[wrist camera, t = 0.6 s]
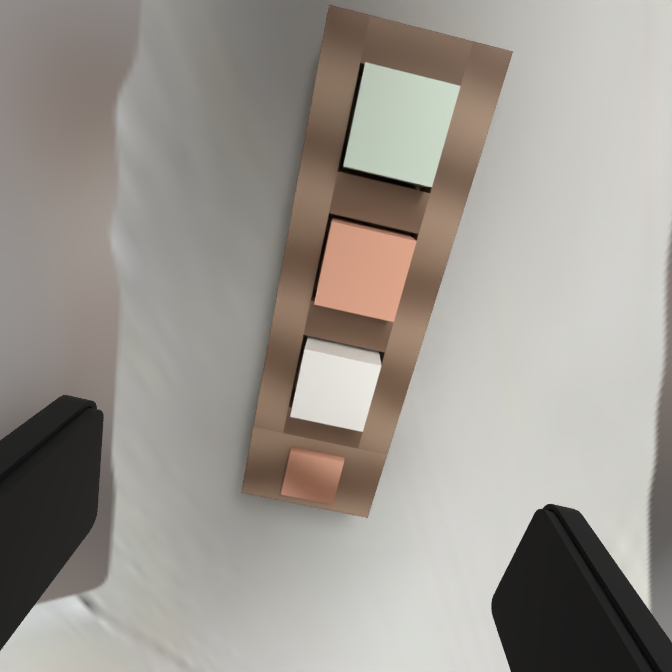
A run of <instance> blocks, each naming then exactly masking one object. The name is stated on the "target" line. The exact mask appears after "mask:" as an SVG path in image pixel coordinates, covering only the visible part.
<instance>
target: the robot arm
mask: <svg viewBox="0 0 672 672" xmlns="http://www.w3.org/2000/svg"><path fill="white" fill-rule="evenodd" d="M102 431H103V412H102V411H101V410H97V406H96V403H95V402H93V401H90V400H86V399H81V398H77V397H73V396H68V395H63V396H61V397H59V398H58V399H56V400H55V401H53V402H52V403H51V404H49V405H48V406H47V407H46V408H44V409H43V410H41V411H40V412H39V413H37V414H36V415H34V416H33V417H32V418H30V419H29V420H28V421H26V422H25V423H24V424H22V425H21V426H19V427H18V428H17V429H15V430H14V431H13V432H11V433H10V434H9V435H7V436H6V437H5V438H3V439H2V440H1V441H0V650H1V649H2V648H3V646H4V645H5V644H6V642H7V641H8V640H9V638H10V637H11V636H12V634H13V633H14V632H15V630H16V629H17V628H18V626H19V625H20V624H21V622H22V621H23V620H24V618H25V617H26V616H27V614H28V613H29V612H30V610H31V609H32V608H33V606H34V605H35V604H36V602H37V601H38V600H39V598H40V597H41V595H42V594H43V593H44V592H45V590H46V589H47V588H48V586H49V585H50V583H51V582H52V581H53V579H54V578H55V577H56V575H57V574H58V573H59V572H60V570H61V569H62V568H63V566H64V565H65V564H66V562H67V561H68V560H69V558H70V557H71V556H72V554H73V553H74V551H75V550H76V549H77V547H78V546H79V545H80V543H81V542H82V541H83V539H84V538H85V537H86V535H87V534H88V533H89V531H90V530H91V528H92V526H93V524H94V522H95V519H96V516H97V508H98V493H99V478H100V462H101V447H102ZM491 608H492V615H493V619H494V622H495V625H496V628H497V631H498V634H499V637H500V640H501V643H502V646H503V649H504V652H505V655H506V658H507V661H508V664H509V667H510V670H511V672H672V643H671V641H670V639H669V638H668V637H667V635H666V634H665V632H664V631H663V630H662V628H661V627H660V625H659V624H658V622H657V621H656V619H655V618H654V617H653V615H652V614H651V612H650V611H649V609H648V608H647V607H646V605H645V604H644V602H643V601H642V600H641V598H640V597H639V595H638V594H637V592H636V591H635V590H634V588H633V587H632V585H631V584H630V582H629V581H628V580H627V578H626V577H625V575H624V574H623V572H622V571H621V570H620V568H619V567H618V565H617V564H616V562H615V561H614V560H613V558H612V557H611V555H610V554H609V552H608V551H607V550H606V548H605V547H604V545H603V544H602V542H601V541H600V540H599V538H598V537H597V535H596V534H595V533H594V531H593V530H592V528H591V527H590V525H589V524H588V523H587V521H586V520H585V518H584V517H583V515H582V514H581V513H580V512H579V511H577V510H575V509H571V508H567V507H563V506H558V505H554V504H547V505H546V506H544V508H543V509H538V510H537V511H536V512H535V514H534V516H533V518H532V520H531V522H530V524H529V526H528V528H527V530H526V532H525V534H524V536H523V537H522V539H521V541H520V543H519V545H518V547H517V549H516V551H515V553H514V555H513V557H512V559H511V561H510V563H509V565H508V567H507V569H506V571H505V573H504V575H503V577H502V579H501V581H500V583H499V585H498V587H497V589H496V591H495V593H494V595H493V598H492V606H491Z"/></svg>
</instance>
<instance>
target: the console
mask: <svg viewBox="0 0 672 672" xmlns="http://www.w3.org/2000/svg"><path fill="white" fill-rule="evenodd" d="M512 53H513V51H509V50H505V49H501V48H497V47H493V46H489V45H485V44H481V43H477V42H473V41H469V40H465V39H462V38H458V37H454V36H450V35H446V34H442V33H438V32H434V31H430V30H426V29H422V28H418V27H414V26H411V25H407V24H403V23H399V22H395V21H391V20H387V19H383V18H379V17H375V16H371V15H367V14H364V13H360V12H356V11H352V10H348V9H344V8H340V7H336V6H332V5H329V7H328V13H327V19H326V24H325V30H324V35H323V41H322V46H321V52H320V58H319V63H318V69H317V74H316V80H315V85H314V91H313V97H312V102H311V108H310V113H309V119H308V124H307V130H306V136H305V141H304V147H303V152H302V158H301V163H300V169H299V175H298V180H297V186H296V191H295V197H294V202H293V208H292V214H291V219H290V225H289V230H288V236H287V242H286V247H285V253H284V258H283V264H282V269H281V275H280V281H279V286H278V292H277V297H276V303H275V308H274V314H273V320H272V325H271V331H270V336H269V342H268V347H267V353H266V359H265V364H264V370H263V375H262V381H261V386H260V392H259V398H258V403H257V409H256V414H255V420H254V425H253V431H252V437H251V442H250V448H249V453H248V459H247V464H246V470H245V476H244V481H243V487H242V492H241V493H246V494H251V495H256V496H261V497H266V498H271V499H276V500H281V501H286V502H291V503H296V504H301V505H306V506H311V507H316V508H321V509H326V510H331V511H336V512H341V513H346V514H351V515H356V516H361V517H366V518H368V515H369V511H370V508H371V505H372V502H373V499H374V495H375V492H376V489H377V486H378V482H379V479H380V476H381V473H382V470H383V466H384V463H385V460H386V457H387V454H388V450H389V447H390V444H391V441H392V438H393V434H394V431H395V428H396V425H397V422H398V418H399V415H400V412H401V409H402V406H403V402H404V399H405V396H406V393H407V390H408V386H409V383H410V380H411V377H412V374H413V370H414V367H415V364H416V361H417V358H418V354H419V351H420V348H421V345H422V342H423V338H424V335H425V332H426V329H427V326H428V322H429V319H430V316H431V313H432V310H433V306H434V303H435V300H436V297H437V293H438V290H439V287H440V284H441V281H442V277H443V274H444V271H445V268H446V265H447V261H448V258H449V255H450V252H451V249H452V245H453V242H454V239H455V236H456V233H457V229H458V226H459V223H460V220H461V217H462V213H463V210H464V207H465V204H466V201H467V197H468V194H469V191H470V188H471V185H472V181H473V178H474V175H475V172H476V169H477V165H478V162H479V159H480V156H481V153H482V149H483V146H484V143H485V140H486V137H487V133H488V130H489V127H490V124H491V121H492V117H493V114H494V111H495V108H496V105H497V101H498V98H499V95H500V92H501V88H502V85H503V82H504V79H505V76H506V72H507V69H508V66H509V63H510V60H511V56H512ZM365 62H367V63H371V64H375V65H379V66H383V67H387V68H391V69H395V70H399V71H403V72H407V73H411V74H415V75H419V76H423V77H427V78H431V79H435V80H439V81H443V82H447V83H451V84H455V85H459V86H460V90H459V93H458V97H457V101H456V104H455V108H454V111H453V115H452V118H451V122H450V125H449V129H448V132H447V136H446V139H445V143H444V147H443V150H442V154H441V157H440V161H439V164H438V168H437V171H436V175H435V178H434V182H433V185H432V187H422V186H418V185H414V184H410V183H405V182H401V181H397V180H393V179H389V178H384V177H380V176H376V175H372V174H368V173H363V172H359V171H355V170H351V169H347V168H344V167H343V165H344V160H345V156H346V151H347V146H348V142H349V137H350V132H351V127H352V123H353V118H354V113H355V109H356V104H357V99H358V94H359V90H360V85H361V80H362V76H363V71H364V66H365ZM333 217H335V218H339V219H344V220H348V221H352V222H357V223H361V224H365V225H369V226H374V227H378V228H382V229H387V230H391V231H395V232H400V233H404V234H408V235H410V236H411V237H412V238H414V239H415V240H416V241H417V242H416V246H415V249H414V253H413V256H412V260H411V263H410V267H409V270H408V274H407V277H406V281H405V284H404V288H403V292H402V295H401V299H400V302H399V306H398V309H397V313H396V316H395V320H394V322H391V321H386V320H382V319H377V318H373V317H368V316H364V315H359V314H355V313H350V312H346V311H341V310H337V309H332V308H328V307H323V306H319V305H314V302H315V297H316V293H317V288H318V283H319V278H320V274H321V269H322V264H323V260H324V255H325V250H326V245H327V241H328V236H329V231H330V227H331V222H332V220H333ZM308 336H312V337H316V338H321V339H325V340H330V341H335V342H339V343H344V344H348V345H353V346H357V347H362V348H367V349H371V350H376V351H379V354H380V360H381V369H380V373H379V376H378V380H377V383H376V387H375V391H374V394H373V398H372V401H371V405H370V408H369V412H368V415H367V419H366V422H365V426H364V429H363V432H361V431H356V430H351V429H346V428H342V427H337V426H332V425H327V424H322V423H318V422H313V421H308V420H303V419H299V418H294V417H290V415H291V411H292V406H293V401H294V396H295V392H296V387H297V382H298V378H299V373H300V368H301V363H302V359H303V354H304V349H305V346H306V342H307V338H308Z"/></svg>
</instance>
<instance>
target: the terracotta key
mask: <svg viewBox="0 0 672 672" xmlns="http://www.w3.org/2000/svg"><path fill="white" fill-rule="evenodd" d="M416 242H417V241H416V240H415V239H414V238H412V237H411V236H410V235H408V234H404V233H400V232H395V231H391V230H387V229H382V228H378V227H374V226H369V225H365V224H361V223H357V222H352V221H348V220H344V219H339V218H335V217H333V220H332V222H331V227H330V231H329V236H328V241H327V245H326V250H325V255H324V260H323V264H322V269H321V274H320V278H319V283H318V288H317V293H316V297H315V302H314V305H319V306H323V307H328V308H332V309H337V310H341V311H346V312H350V313H355V314H359V315H364V316H368V317H373V318H377V319H382V320H386V321H391V322H394V320H395V316H396V313H397V309H398V306H399V302H400V299H401V295H402V292H403V288H404V284H405V281H406V277H407V274H408V270H409V267H410V263H411V260H412V256H413V253H414V249H415V246H416Z"/></svg>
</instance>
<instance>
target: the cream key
mask: <svg viewBox="0 0 672 672" xmlns="http://www.w3.org/2000/svg"><path fill="white" fill-rule="evenodd" d="M380 369H381V360H380V354H379V351H376V350H371V349H367V348H362V347H357V346H353V345H348V344H344V343H339V342H335V341H330V340H325V339H321V338H316V337H312V336H308V338H307V342H306V346H305V349H304V354H303V359H302V363H301V368H300V373H299V378H298V382H297V387H296V392H295V396H294V401H293V406H292V411H291V415H290V417H294V418H299V419H303V420H308V421H313V422H318V423H322V424H327V425H332V426H337V427H342V428H346V429H351V430H356V431H361V432H363V429H364V426H365V422H366V419H367V415H368V412H369V408H370V405H371V401H372V398H373V394H374V391H375V387H376V383H377V380H378V376H379V373H380Z"/></svg>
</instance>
